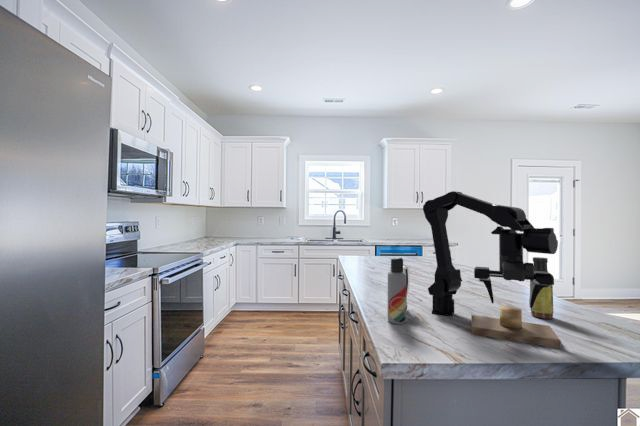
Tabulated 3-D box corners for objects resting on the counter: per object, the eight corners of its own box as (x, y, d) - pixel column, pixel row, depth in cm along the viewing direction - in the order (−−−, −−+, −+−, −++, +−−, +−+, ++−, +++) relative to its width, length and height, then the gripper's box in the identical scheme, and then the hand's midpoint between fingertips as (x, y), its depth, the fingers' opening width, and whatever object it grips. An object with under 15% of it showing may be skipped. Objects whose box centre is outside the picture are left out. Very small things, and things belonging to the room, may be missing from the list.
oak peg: (500, 333, 83) (500, 309, 83) (499, 327, 88) (499, 304, 88) (523, 337, 81) (523, 312, 81) (520, 331, 85) (520, 307, 86)
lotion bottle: (403, 325, 89) (403, 259, 90) (384, 322, 92) (385, 257, 93) (408, 320, 94) (408, 257, 95) (390, 317, 97) (391, 256, 98)
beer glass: (411, 308, 107) (412, 267, 107) (406, 313, 101) (406, 269, 101) (393, 305, 110) (393, 265, 111) (386, 310, 104) (386, 267, 105)
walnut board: (471, 333, 83) (471, 326, 84) (471, 321, 94) (471, 314, 94) (560, 348, 74) (560, 340, 74) (549, 332, 85) (549, 325, 85)
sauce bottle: (557, 320, 96) (557, 259, 96) (536, 319, 97) (535, 258, 98) (546, 314, 102) (546, 256, 103) (526, 312, 103) (526, 256, 104)
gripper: (474, 251, 82) (474, 307, 81) (559, 255, 73) (559, 318, 73) (474, 248, 92) (474, 298, 91) (548, 251, 83) (549, 307, 83)
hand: (511, 305), depth 84 cm, fingers open, 9 cm apart
